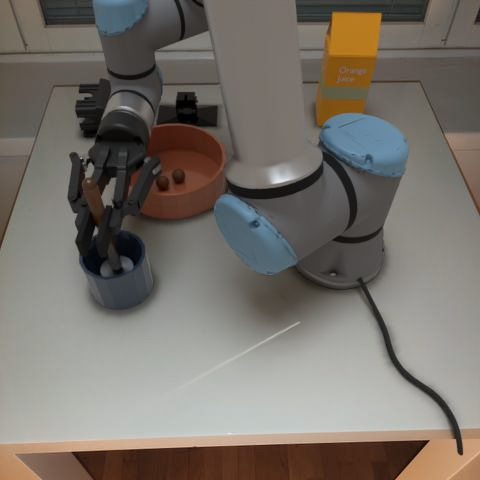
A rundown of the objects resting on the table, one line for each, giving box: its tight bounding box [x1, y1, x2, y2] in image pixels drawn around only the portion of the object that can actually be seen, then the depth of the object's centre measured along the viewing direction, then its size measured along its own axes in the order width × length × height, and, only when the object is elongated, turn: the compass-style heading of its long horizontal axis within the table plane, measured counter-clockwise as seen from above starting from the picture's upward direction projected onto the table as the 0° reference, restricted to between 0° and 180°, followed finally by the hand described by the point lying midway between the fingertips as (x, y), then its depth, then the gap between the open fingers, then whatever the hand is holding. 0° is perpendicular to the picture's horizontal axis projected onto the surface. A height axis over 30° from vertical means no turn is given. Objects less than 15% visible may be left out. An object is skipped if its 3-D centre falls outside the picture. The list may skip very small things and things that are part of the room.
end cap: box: [74, 77, 111, 138], centre depth 95 cm, size 10×7×7 cm
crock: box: [78, 229, 154, 311], centre depth 71 cm, size 9×9×8 cm
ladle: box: [82, 176, 134, 277], centre depth 65 cm, size 5×5×20 cm
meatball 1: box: [156, 175, 169, 189], centre depth 85 cm, size 2×2×2 cm
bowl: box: [128, 124, 227, 220], centre depth 85 cm, size 19×19×6 cm
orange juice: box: [314, 11, 383, 127], centre depth 91 cm, size 8×9×20 cm
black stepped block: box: [155, 91, 219, 128], centre depth 97 cm, size 12×7×5 cm, turn 90°
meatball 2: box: [172, 169, 185, 182], centre depth 86 cm, size 2×2×2 cm
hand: (90, 249), depth 59 cm, fingers closed on ladle, 2 cm apart
